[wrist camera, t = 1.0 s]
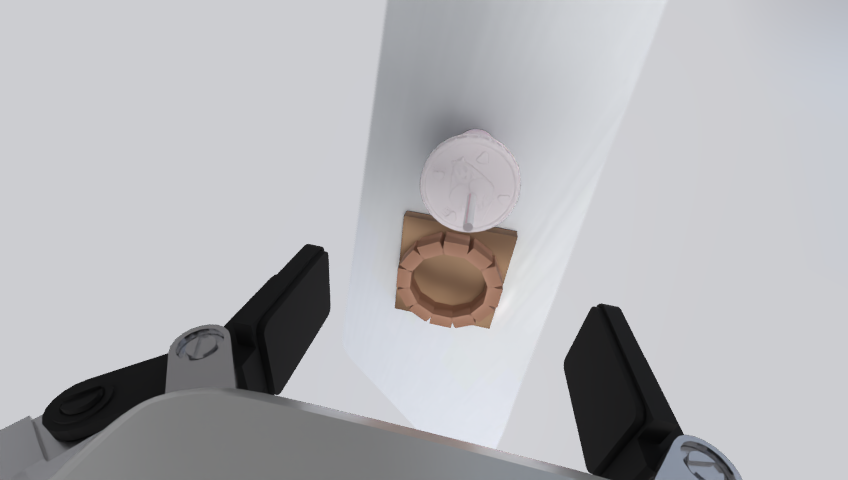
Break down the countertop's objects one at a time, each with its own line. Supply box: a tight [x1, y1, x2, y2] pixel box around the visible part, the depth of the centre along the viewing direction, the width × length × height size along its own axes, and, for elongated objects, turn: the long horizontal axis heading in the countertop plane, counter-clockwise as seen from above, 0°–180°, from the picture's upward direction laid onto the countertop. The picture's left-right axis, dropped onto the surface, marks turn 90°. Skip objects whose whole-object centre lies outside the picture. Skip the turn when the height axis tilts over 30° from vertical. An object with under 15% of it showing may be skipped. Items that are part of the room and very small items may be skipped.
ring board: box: [395, 211, 517, 328], centre depth 34 cm, size 12×11×3 cm
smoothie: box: [420, 129, 521, 232], centre depth 23 cm, size 6×6×14 cm
